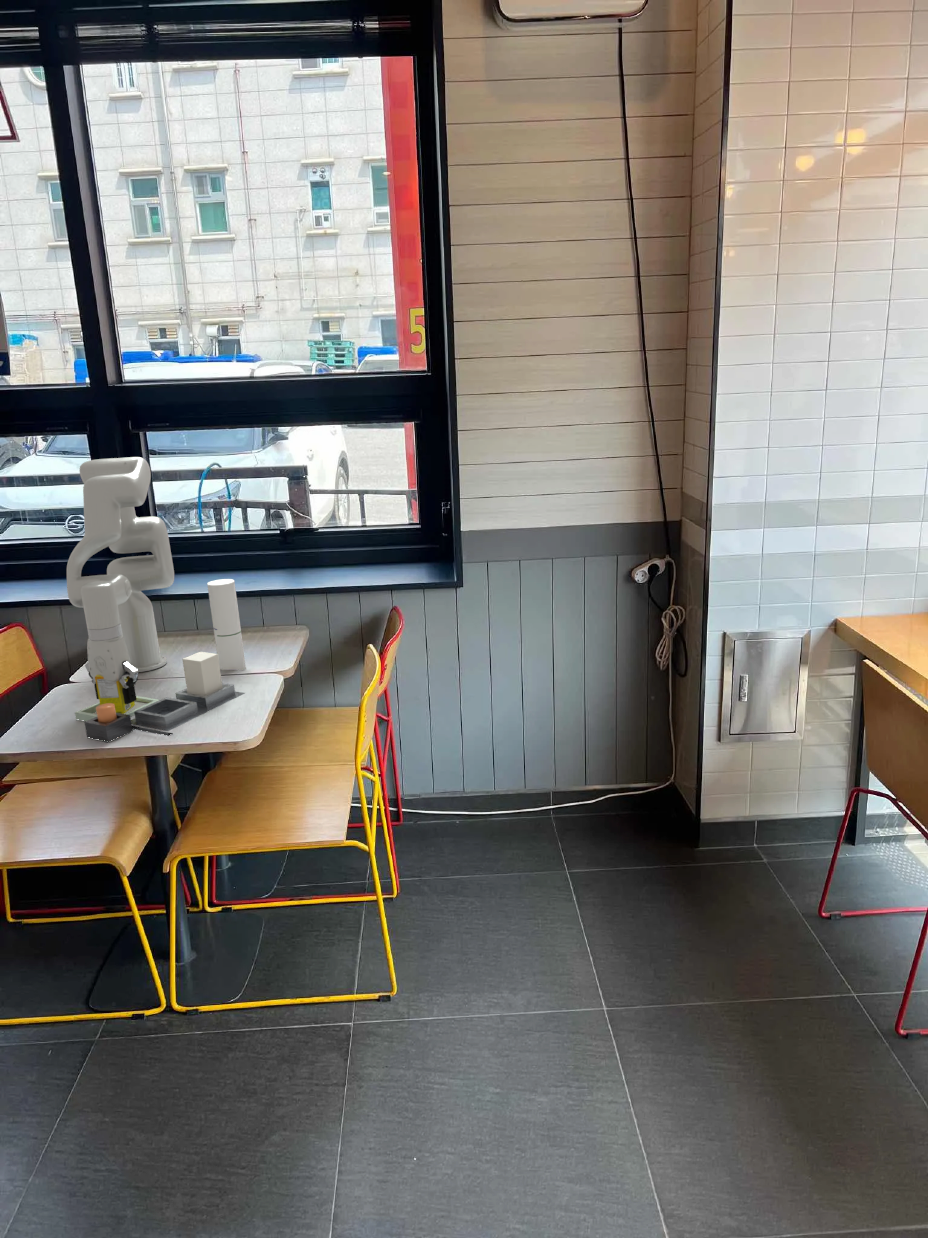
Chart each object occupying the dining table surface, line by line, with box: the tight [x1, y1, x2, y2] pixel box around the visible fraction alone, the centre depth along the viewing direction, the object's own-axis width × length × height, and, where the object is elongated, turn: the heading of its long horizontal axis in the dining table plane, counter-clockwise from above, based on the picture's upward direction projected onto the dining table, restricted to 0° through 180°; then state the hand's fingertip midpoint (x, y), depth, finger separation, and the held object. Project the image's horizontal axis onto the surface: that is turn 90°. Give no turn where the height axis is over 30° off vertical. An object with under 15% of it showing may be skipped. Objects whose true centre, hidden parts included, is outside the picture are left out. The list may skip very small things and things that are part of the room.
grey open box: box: [131, 682, 246, 737], centre depth 218 cm, size 14×26×4 cm, turn 152°
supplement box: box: [95, 674, 136, 714], centre depth 219 cm, size 6×6×11 cm
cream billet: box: [182, 651, 223, 696], centre depth 222 cm, size 6×6×11 cm
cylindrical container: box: [206, 578, 247, 672], centre depth 245 cm, size 7×7×25 cm
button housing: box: [83, 713, 134, 743], centre depth 207 cm, size 7×7×4 cm
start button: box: [96, 703, 117, 723], centre depth 206 cm, size 4×4×4 cm
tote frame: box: [74, 695, 160, 721], centre depth 220 cm, size 14×14×2 cm
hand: (116, 699), depth 219 cm, fingers open, 9 cm apart
